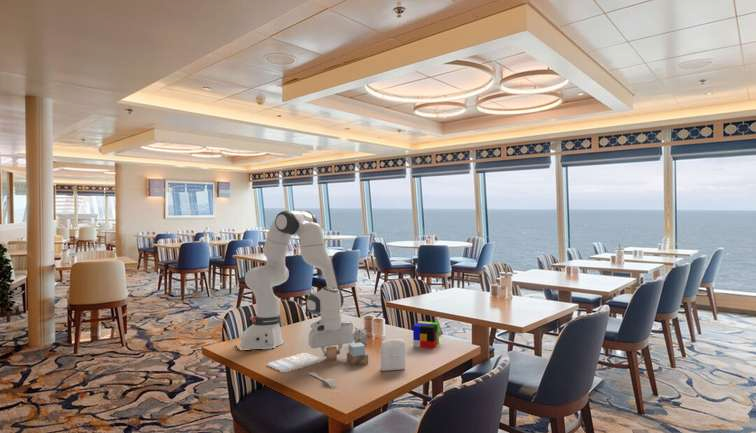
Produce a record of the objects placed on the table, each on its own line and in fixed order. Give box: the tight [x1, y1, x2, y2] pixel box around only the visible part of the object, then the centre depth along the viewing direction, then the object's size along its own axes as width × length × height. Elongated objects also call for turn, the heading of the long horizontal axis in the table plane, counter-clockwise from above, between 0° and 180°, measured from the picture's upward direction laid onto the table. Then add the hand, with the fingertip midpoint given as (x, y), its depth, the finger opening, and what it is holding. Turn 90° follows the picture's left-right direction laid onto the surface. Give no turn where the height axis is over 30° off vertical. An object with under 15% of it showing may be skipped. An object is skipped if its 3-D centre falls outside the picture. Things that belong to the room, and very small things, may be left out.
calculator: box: [266, 352, 323, 373], centre depth 187 cm, size 13×20×2 cm, turn 135°
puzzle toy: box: [412, 320, 440, 349], centre depth 212 cm, size 10×10×10 cm
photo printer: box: [380, 338, 406, 372], centre depth 179 cm, size 10×4×12 cm, turn 103°
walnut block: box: [346, 352, 369, 367], centre depth 187 cm, size 7×7×4 cm
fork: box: [307, 371, 338, 390], centre depth 168 cm, size 3×21×3 cm, turn 36°
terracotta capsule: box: [325, 345, 338, 361], centre depth 192 cm, size 5×5×5 cm
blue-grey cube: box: [348, 342, 366, 357], centre depth 187 cm, size 6×6×4 cm
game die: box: [353, 327, 370, 346], centre depth 214 cm, size 9×8×10 cm
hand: (331, 355), depth 192 cm, fingers closed on terracotta capsule, 5 cm apart
